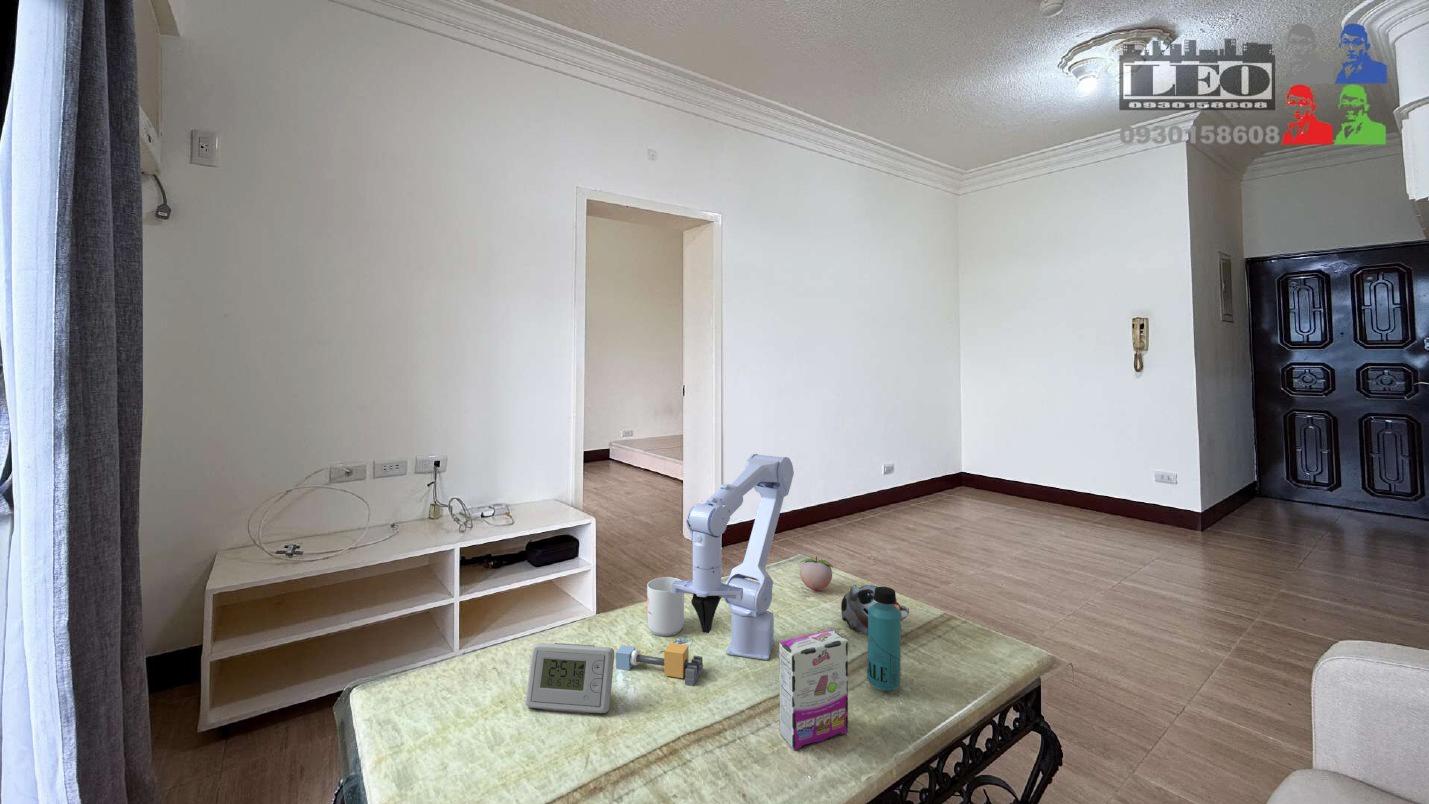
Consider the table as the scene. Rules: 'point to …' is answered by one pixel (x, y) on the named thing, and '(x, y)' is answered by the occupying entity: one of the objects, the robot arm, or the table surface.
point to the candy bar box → (813, 688)
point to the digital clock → (570, 678)
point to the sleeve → (675, 660)
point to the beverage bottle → (884, 641)
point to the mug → (664, 607)
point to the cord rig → (656, 662)
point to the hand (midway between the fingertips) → (706, 630)
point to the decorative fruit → (816, 573)
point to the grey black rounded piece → (862, 607)
